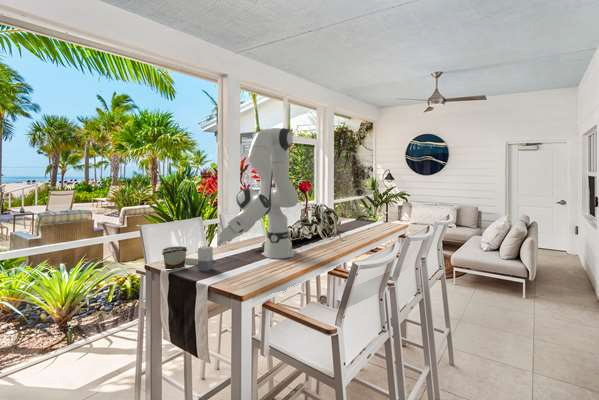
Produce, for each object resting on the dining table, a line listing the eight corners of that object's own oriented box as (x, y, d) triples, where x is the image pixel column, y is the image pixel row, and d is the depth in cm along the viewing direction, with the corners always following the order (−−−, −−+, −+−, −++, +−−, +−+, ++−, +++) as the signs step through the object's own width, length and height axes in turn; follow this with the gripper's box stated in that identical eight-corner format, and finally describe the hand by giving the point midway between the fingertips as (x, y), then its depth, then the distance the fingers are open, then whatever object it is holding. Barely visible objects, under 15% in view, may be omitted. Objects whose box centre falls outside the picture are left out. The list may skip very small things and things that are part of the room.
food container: (181, 264, 179) (181, 245, 178) (187, 266, 174) (187, 247, 174) (157, 268, 170) (157, 248, 169) (163, 271, 166) (162, 250, 165)
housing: (203, 267, 173) (203, 246, 172) (212, 268, 171) (212, 246, 170) (198, 270, 168) (197, 248, 167) (207, 271, 167) (207, 249, 166)
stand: (194, 258, 191) (194, 252, 191) (212, 259, 188) (212, 254, 188) (182, 263, 181) (182, 257, 180) (201, 265, 178) (201, 259, 177)
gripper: (247, 215, 173) (229, 233, 176) (228, 221, 153) (208, 241, 156) (255, 225, 172) (237, 243, 175) (237, 231, 152) (217, 252, 155)
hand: (223, 242), depth 166 cm, fingers open, 8 cm apart
